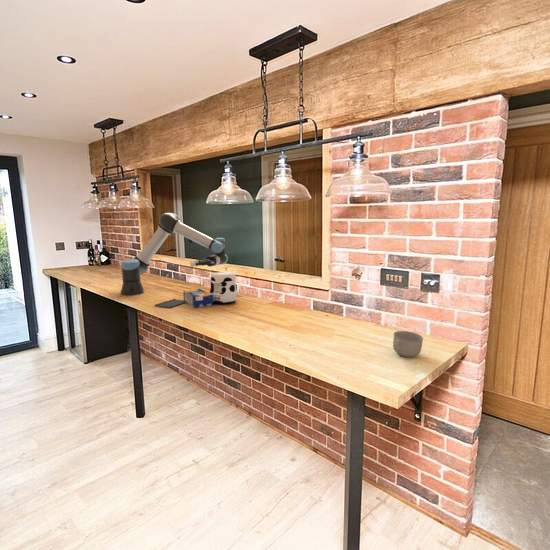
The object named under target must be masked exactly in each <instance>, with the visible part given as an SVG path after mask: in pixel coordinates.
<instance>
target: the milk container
mask: <svg viewBox="0 0 550 550" xmlns="http://www.w3.org/2000/svg"><path fill="white" fill-rule="evenodd" d="M236 276H237V275H236V273H235V272H229V271H228V272H227V271H220V272H213V273H211V274H210V290H209V293H210V294H212V295H213V304H221V305H222V304H231V303H235V302H236V301H237V299H238V291H237V286H236V281H237V280H236V278H237V277H236Z"/></svg>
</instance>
